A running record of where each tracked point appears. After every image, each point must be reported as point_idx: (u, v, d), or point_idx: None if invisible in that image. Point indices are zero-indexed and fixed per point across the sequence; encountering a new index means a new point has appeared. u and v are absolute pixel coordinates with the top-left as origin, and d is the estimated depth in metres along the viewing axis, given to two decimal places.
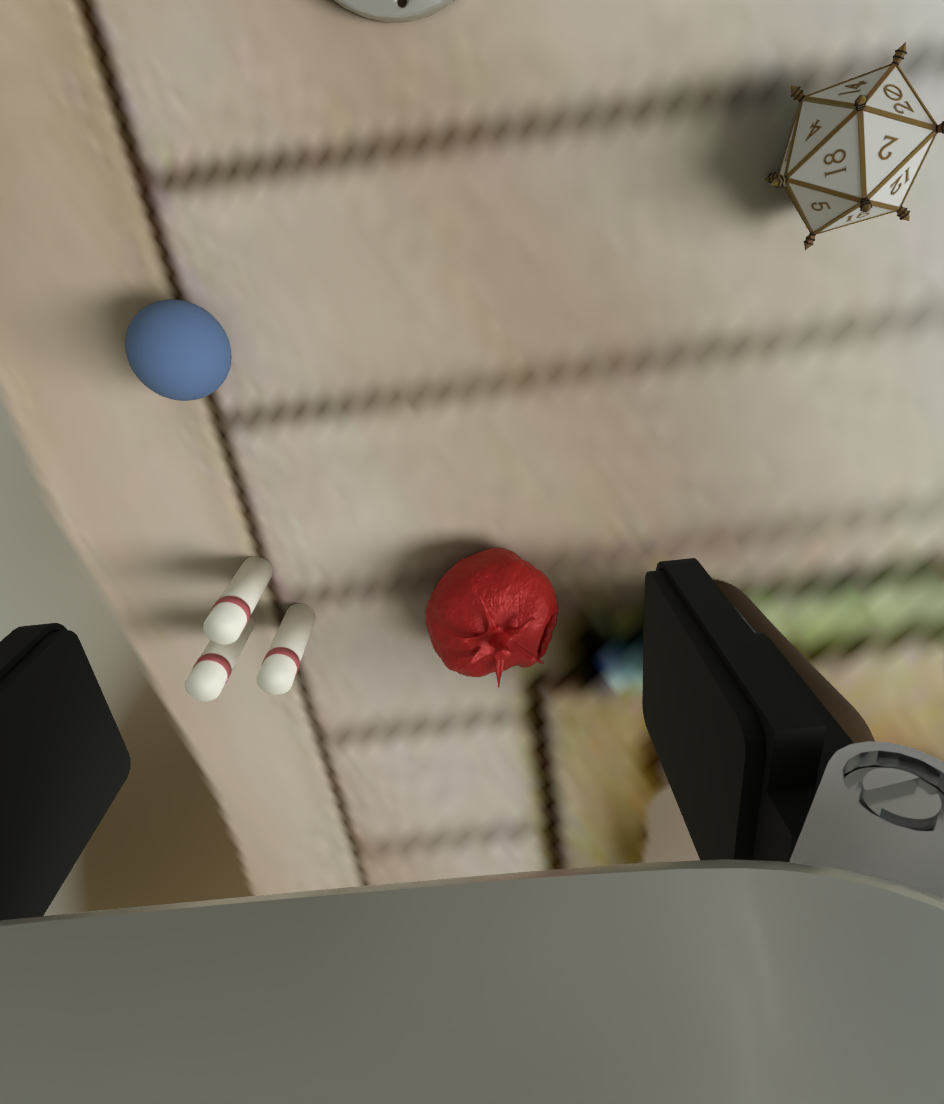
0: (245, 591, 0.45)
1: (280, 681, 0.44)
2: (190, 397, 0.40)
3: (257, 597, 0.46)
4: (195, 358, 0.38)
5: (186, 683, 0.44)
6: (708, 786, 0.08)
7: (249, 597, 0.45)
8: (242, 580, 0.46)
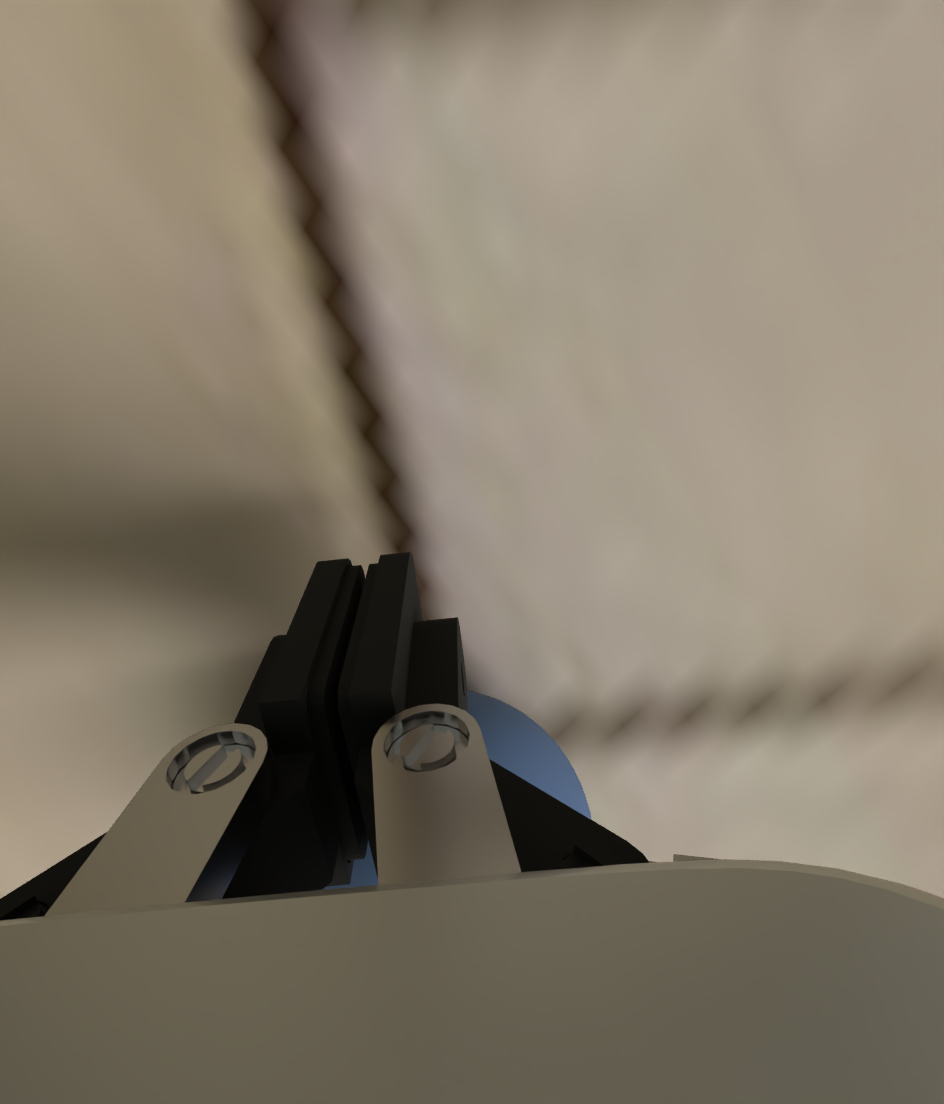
0: None
1: None
2: None
3: None
4: None
5: None
6: None
7: None
8: None
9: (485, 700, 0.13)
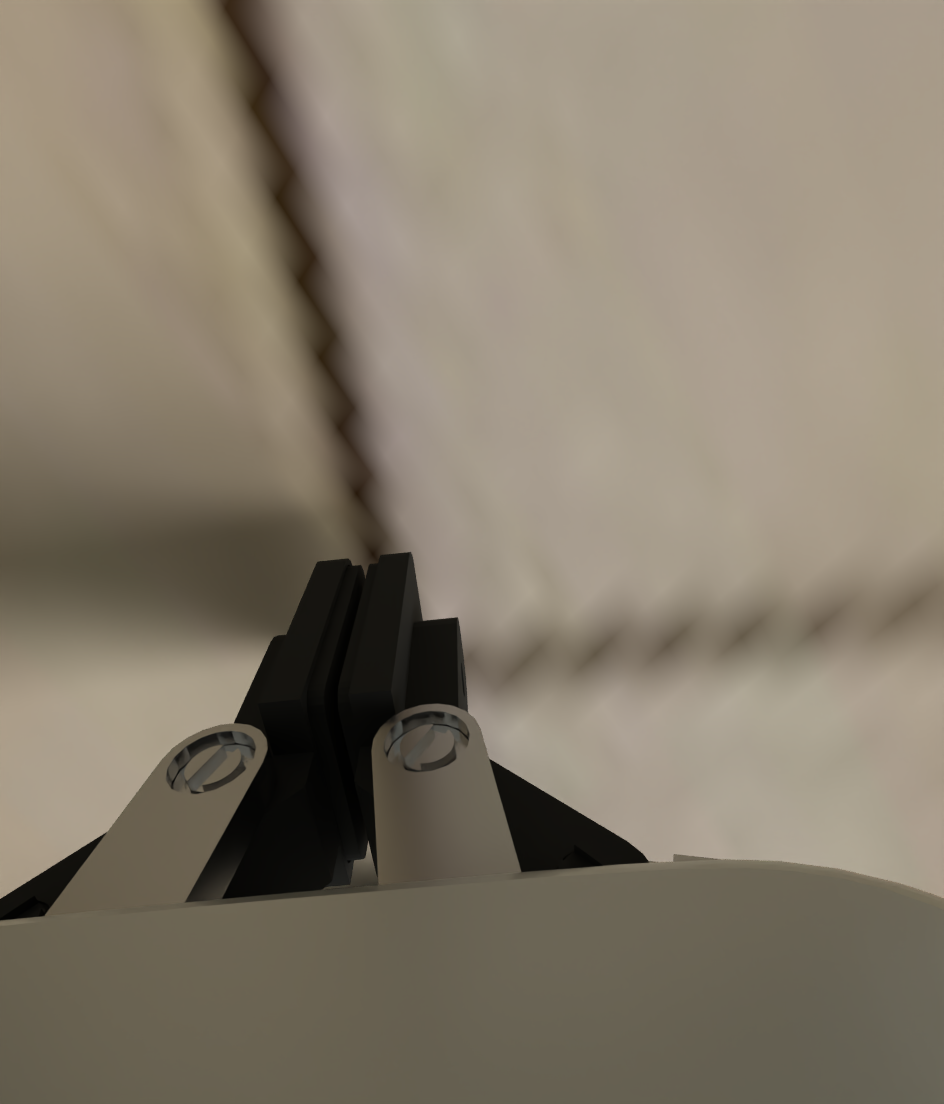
0: None
1: None
2: None
3: None
4: None
5: None
6: None
7: None
8: None
9: None
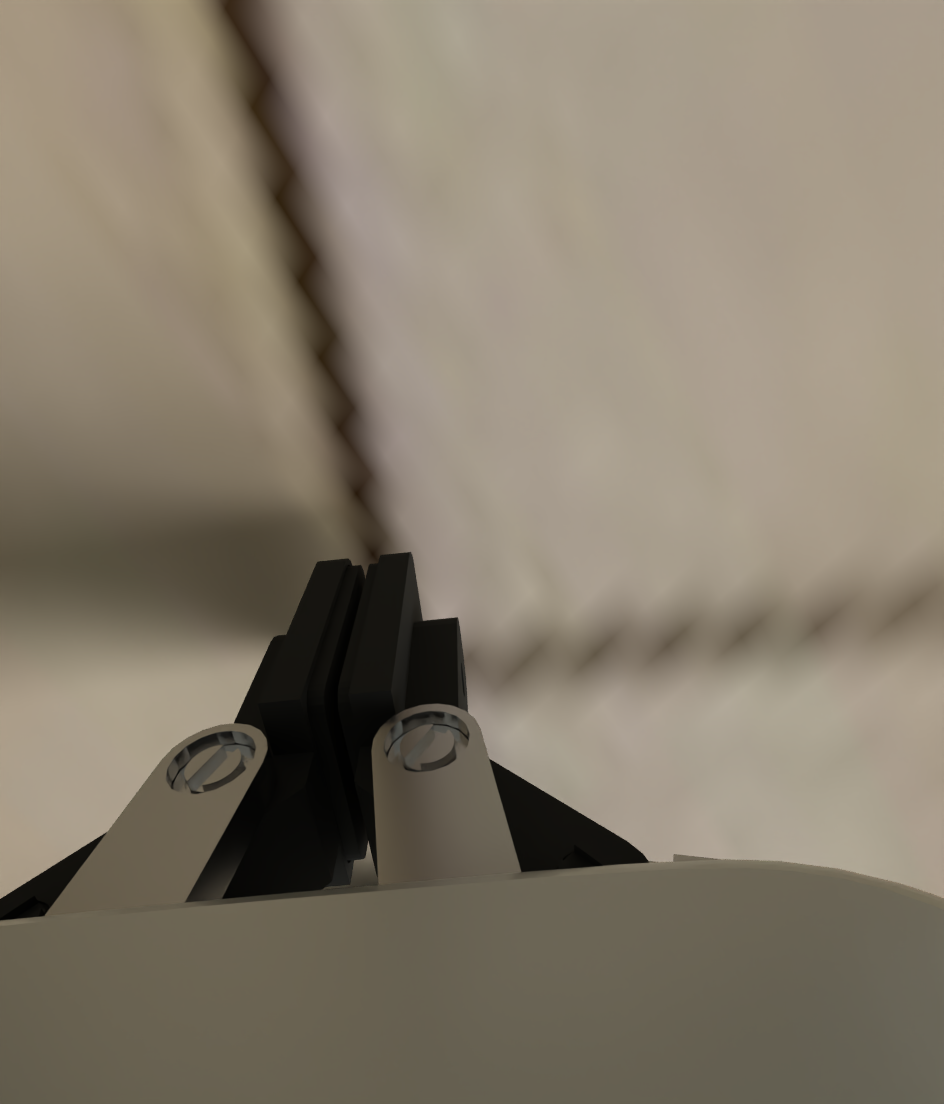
0: None
1: None
2: None
3: None
4: None
5: None
6: None
7: None
8: None
9: None
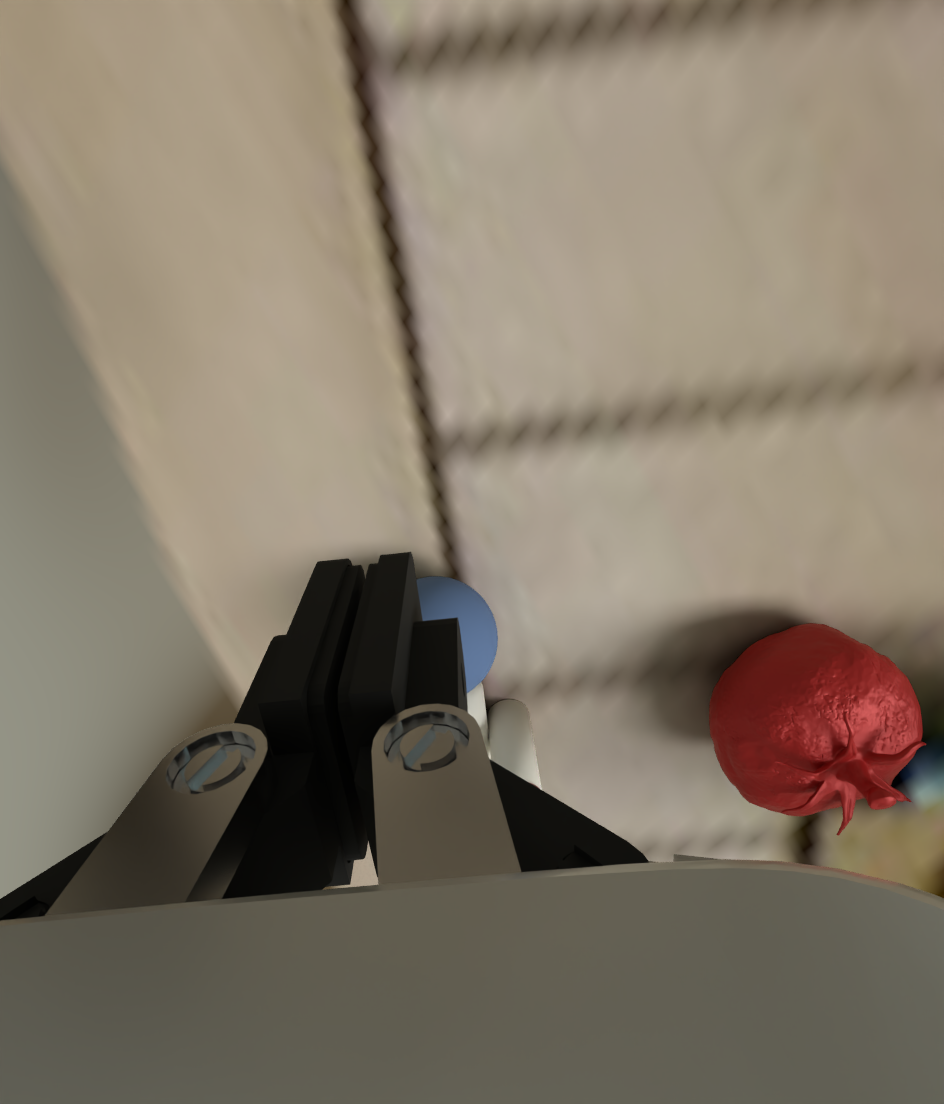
0: None
1: None
2: (436, 615, 0.28)
3: None
4: (471, 589, 0.30)
5: None
6: None
7: None
8: None
9: None
